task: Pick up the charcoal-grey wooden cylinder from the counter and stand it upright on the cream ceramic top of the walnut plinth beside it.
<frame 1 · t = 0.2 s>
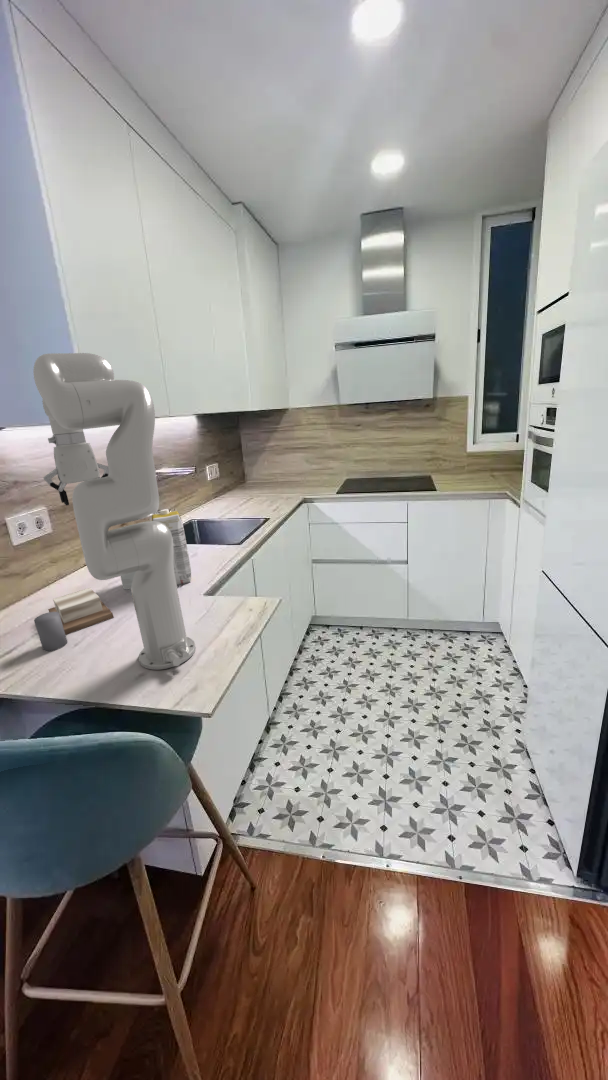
hand: (85, 500, 125), 31 cm above the countertop, fingers open, 9 cm apart
juice carton: (178, 582, 143), on the countertop
supplement box: (139, 585, 144), on the countertop
charcoal cylinder: (55, 645, 110), on the countertop
plinth base: (80, 615, 125), on the countertop
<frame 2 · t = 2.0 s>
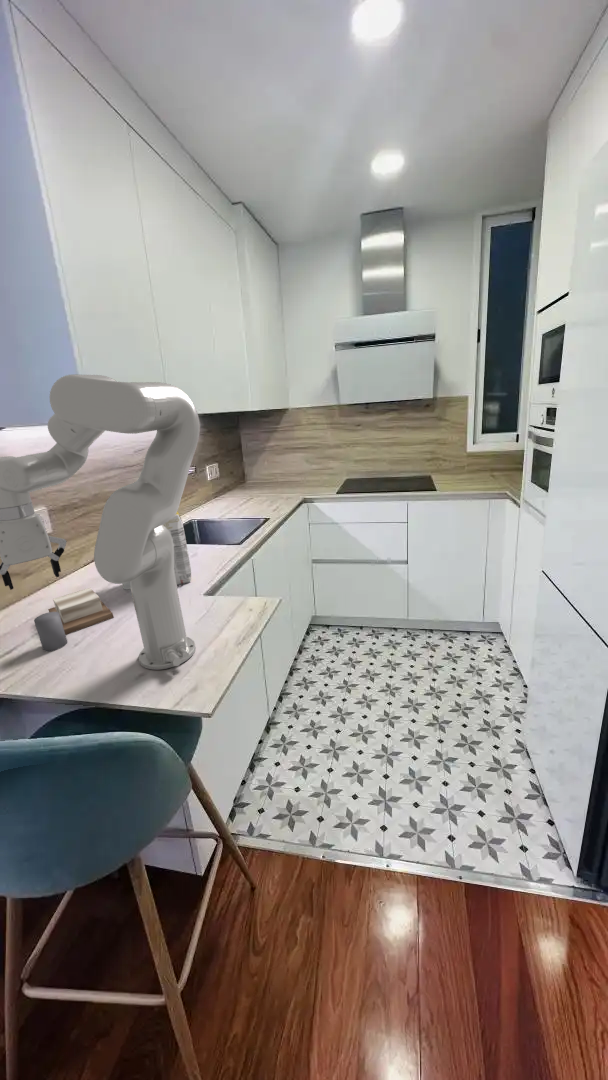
hand: (34, 581, 105), 17 cm above the countertop, fingers open, 9 cm apart
nothing on the countertop moved.
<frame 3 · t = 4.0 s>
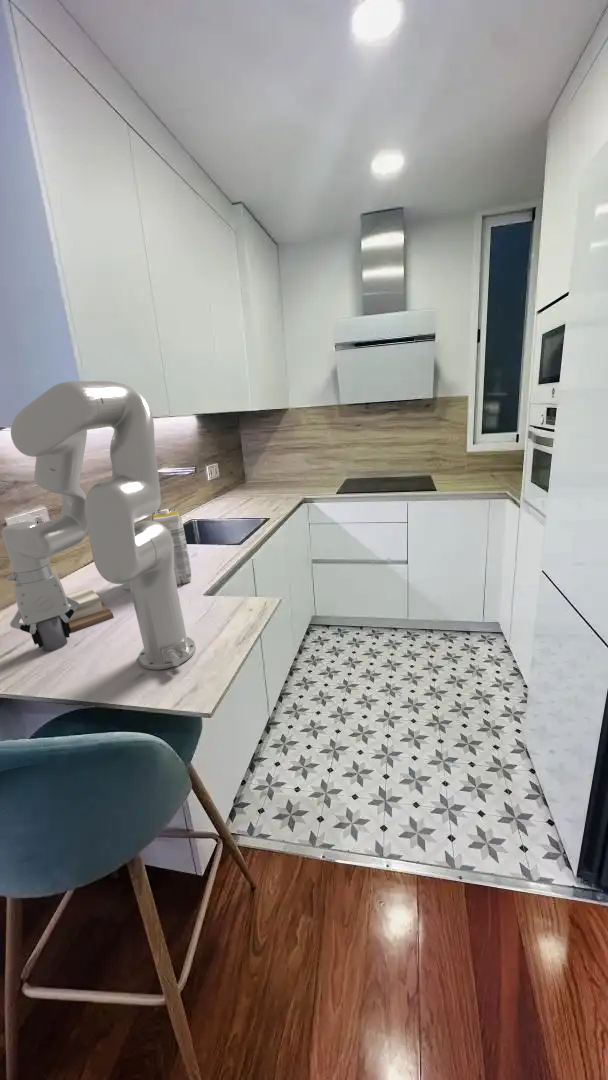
hand: (53, 639, 110), 2 cm above the countertop, fingers closed on charcoal cylinder, 5 cm apart
charcoal cylinder: (55, 645, 110), on the countertop, touching gripper
everything else where it was.
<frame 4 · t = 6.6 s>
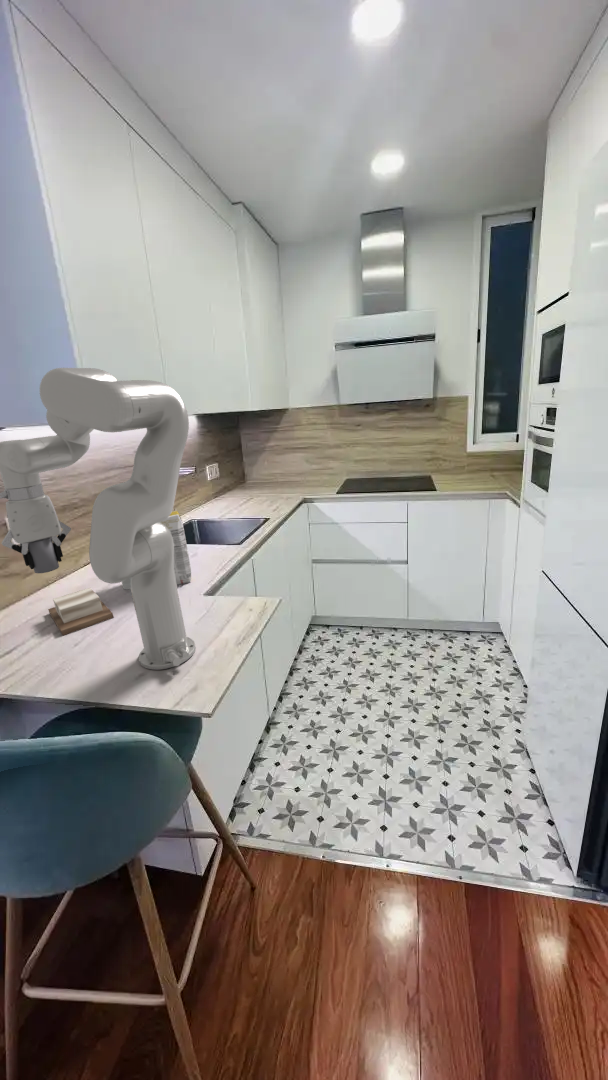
hand: (45, 563, 110), 20 cm above the countertop, fingers closed on charcoal cylinder, 5 cm apart
charcoal cylinder: (47, 569, 111), point 18 cm above the countertop, touching gripper
everything else where it was.
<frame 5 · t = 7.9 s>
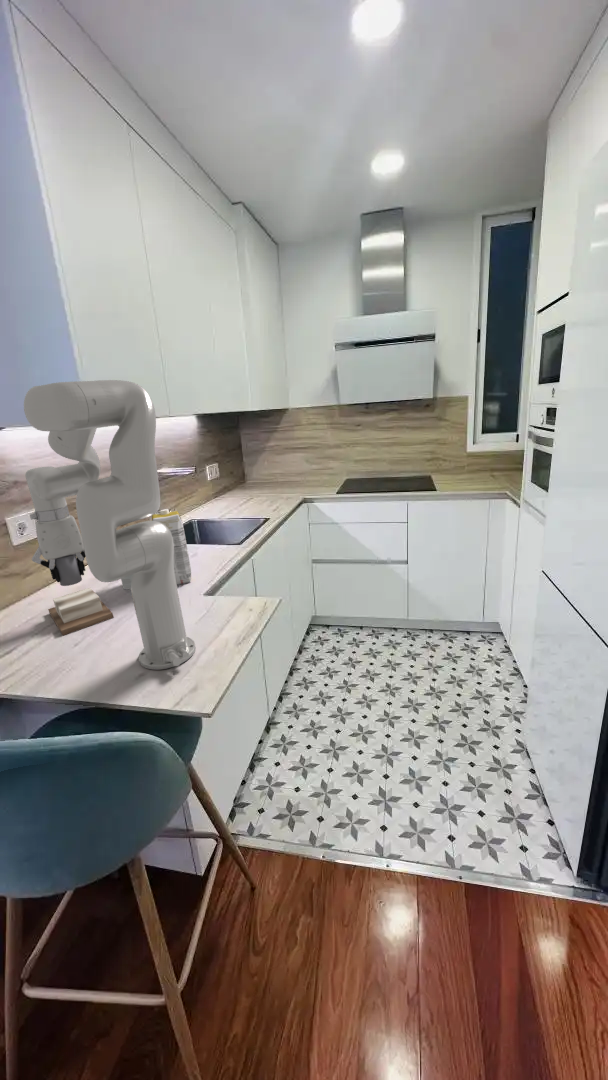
hand: (69, 576, 122), 12 cm above the countertop, fingers closed on charcoal cylinder, 5 cm apart
charcoal cylinder: (71, 581, 122), point 10 cm above the countertop, touching gripper
everything else where it was.
when the fingers open (8 cm above the countertop, at t = 9.1 s): charcoal cylinder drops 1 cm, resting on plinth base.
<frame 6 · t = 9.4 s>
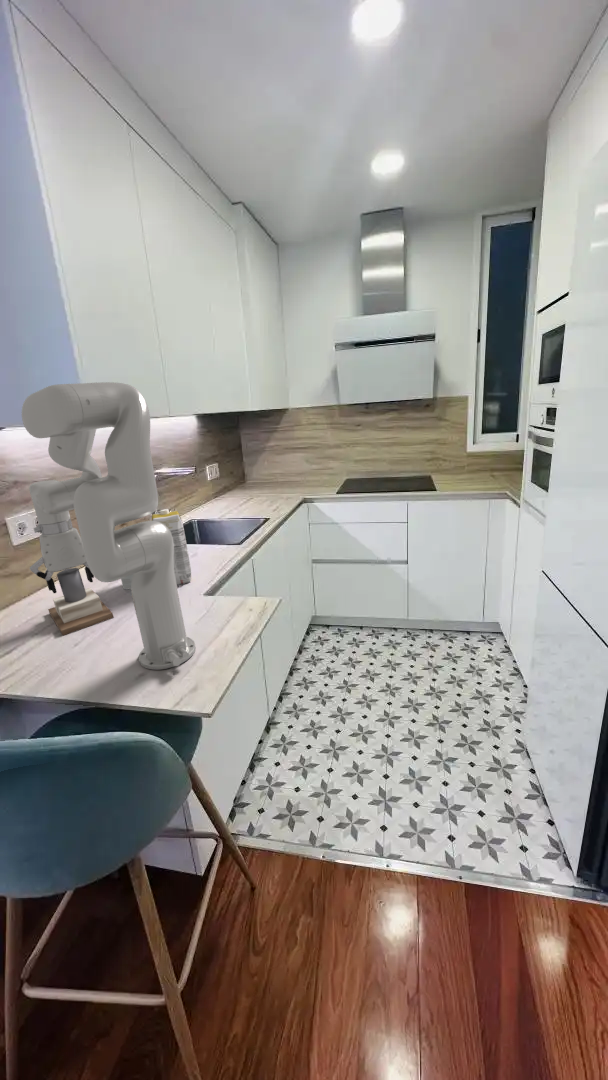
hand: (72, 586, 122), 9 cm above the countertop, fingers open, 9 cm apart
charcoal cylinder: (76, 597, 123), point 6 cm above the countertop, touching plinth base
everything else where it was.
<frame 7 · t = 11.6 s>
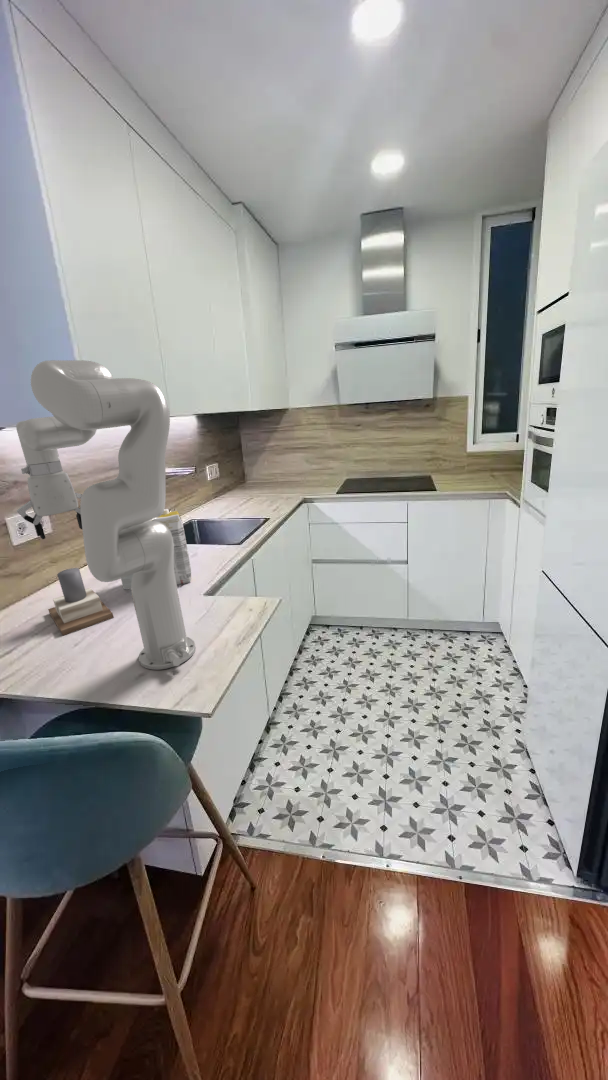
hand: (63, 533, 117), 25 cm above the countertop, fingers open, 9 cm apart
nothing on the countertop moved.
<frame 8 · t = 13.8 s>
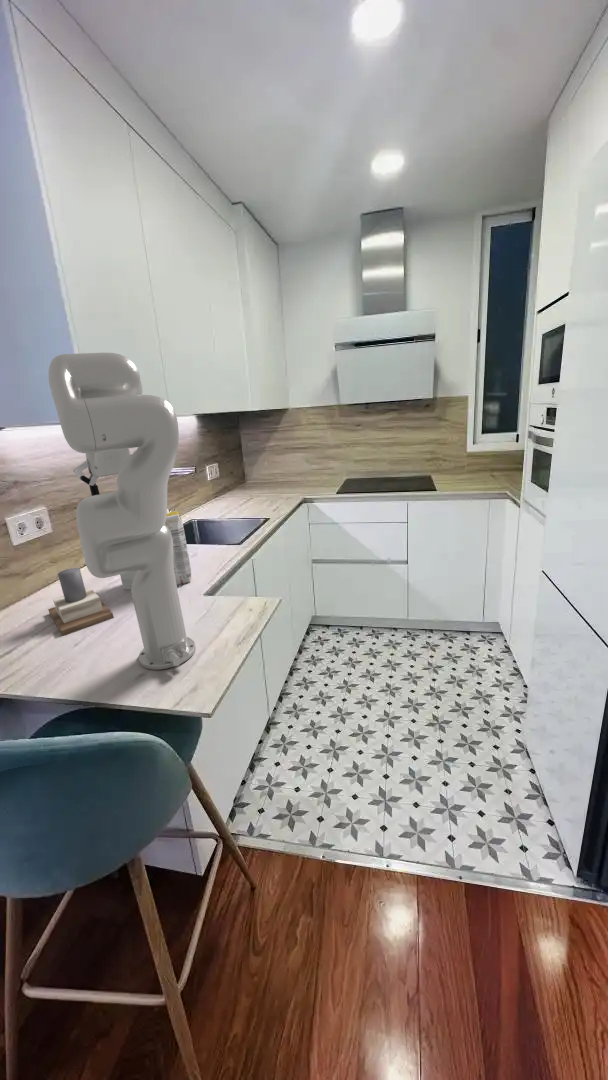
hand: (117, 496, 115), 33 cm above the countertop, fingers open, 9 cm apart
nothing on the countertop moved.
at the end: charcoal cylinder 0.0 cm off-centre on the plinth base, point 5.5 cm above the plinth base's base; charcoal cylinder tilted 1°; the gripper is holding nothing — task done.
